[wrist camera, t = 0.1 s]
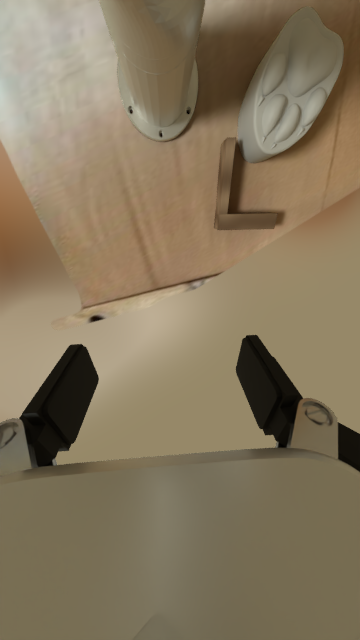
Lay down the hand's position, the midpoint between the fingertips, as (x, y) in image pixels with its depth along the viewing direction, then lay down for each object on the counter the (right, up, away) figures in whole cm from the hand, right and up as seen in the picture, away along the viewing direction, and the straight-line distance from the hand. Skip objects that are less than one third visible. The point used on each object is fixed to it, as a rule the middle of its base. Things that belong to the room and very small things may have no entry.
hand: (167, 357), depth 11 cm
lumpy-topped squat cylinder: (+16, +38, +20) cm, 47 cm away
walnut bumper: (+15, +29, +26) cm, 42 cm away
